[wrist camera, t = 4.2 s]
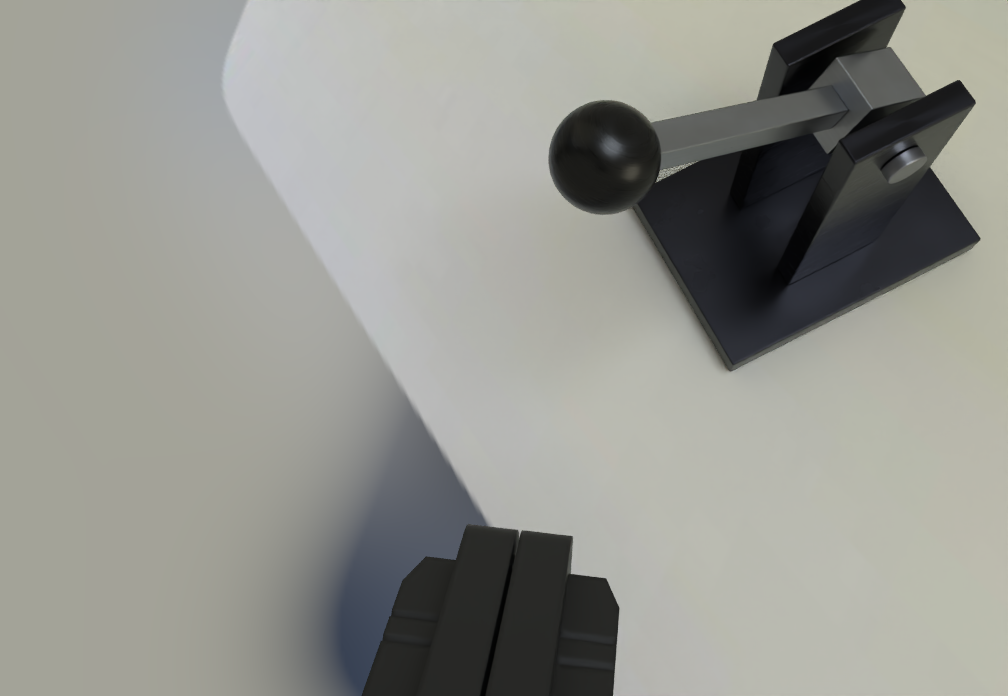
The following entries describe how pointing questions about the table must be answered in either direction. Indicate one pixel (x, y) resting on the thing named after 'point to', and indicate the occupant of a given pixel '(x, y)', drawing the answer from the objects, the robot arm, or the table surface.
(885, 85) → the lever handle
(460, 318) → the table surface
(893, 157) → the black lever base
